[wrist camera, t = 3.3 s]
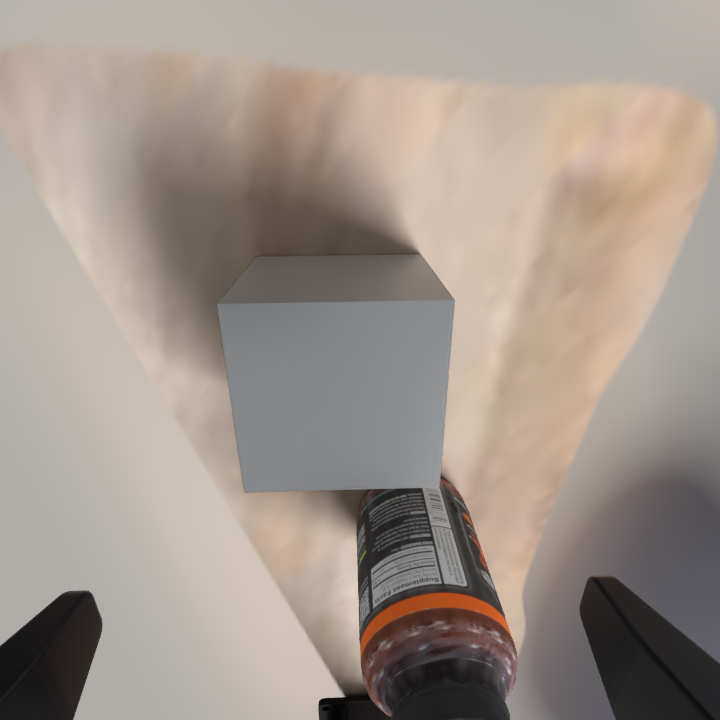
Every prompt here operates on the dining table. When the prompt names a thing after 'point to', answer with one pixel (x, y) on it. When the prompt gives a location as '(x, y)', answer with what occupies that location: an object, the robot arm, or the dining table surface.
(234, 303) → the grey arch block
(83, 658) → the robot arm
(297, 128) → the dining table surface
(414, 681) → the supplement bottle
